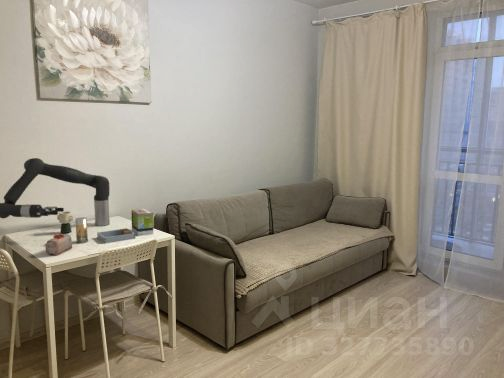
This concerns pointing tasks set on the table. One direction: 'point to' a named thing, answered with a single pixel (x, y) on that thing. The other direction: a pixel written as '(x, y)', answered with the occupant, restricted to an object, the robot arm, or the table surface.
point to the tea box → (142, 222)
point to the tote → (114, 236)
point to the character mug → (65, 221)
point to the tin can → (81, 230)
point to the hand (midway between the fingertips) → (60, 211)
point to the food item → (58, 244)
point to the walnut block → (125, 231)
